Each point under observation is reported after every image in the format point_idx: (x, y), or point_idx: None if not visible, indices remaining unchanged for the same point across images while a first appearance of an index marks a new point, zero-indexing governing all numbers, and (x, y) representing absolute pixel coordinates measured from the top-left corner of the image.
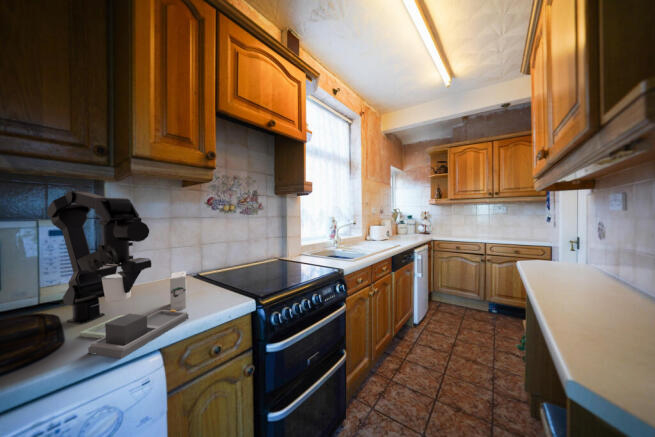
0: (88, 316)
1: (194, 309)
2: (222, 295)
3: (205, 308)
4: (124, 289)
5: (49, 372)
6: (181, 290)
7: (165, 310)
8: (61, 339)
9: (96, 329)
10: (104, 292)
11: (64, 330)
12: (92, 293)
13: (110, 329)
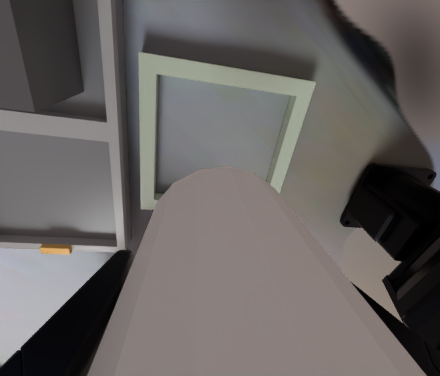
0: (372, 190)
1: (63, 283)
2: None
3: (30, 292)
4: (116, 273)
5: None
6: None
7: (99, 249)
8: (361, 47)
9: (282, 127)
10: (280, 211)
11: (400, 117)
12: (435, 264)
13: None
